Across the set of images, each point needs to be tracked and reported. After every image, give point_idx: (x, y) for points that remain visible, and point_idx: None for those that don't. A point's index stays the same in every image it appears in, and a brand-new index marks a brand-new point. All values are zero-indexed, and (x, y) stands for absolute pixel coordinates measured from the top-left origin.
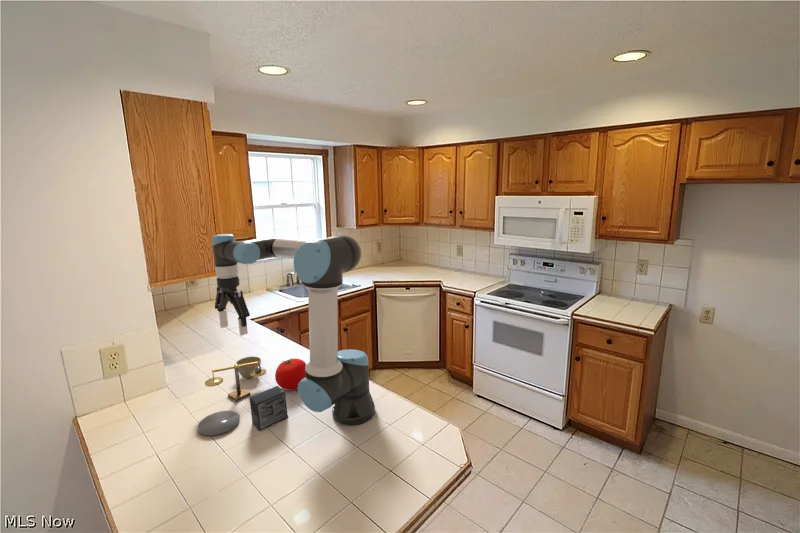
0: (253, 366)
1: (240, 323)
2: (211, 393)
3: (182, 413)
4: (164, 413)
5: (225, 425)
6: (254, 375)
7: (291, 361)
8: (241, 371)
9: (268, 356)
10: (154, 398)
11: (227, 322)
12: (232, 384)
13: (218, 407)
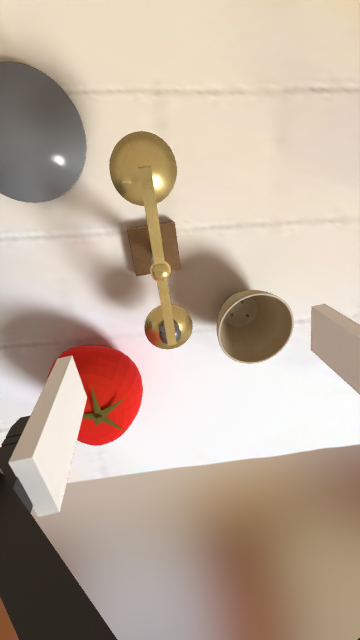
0: (217, 330)
1: (32, 427)
2: (231, 190)
3: (176, 67)
4: (221, 14)
5: None
6: (155, 311)
7: (96, 422)
8: (236, 295)
9: (308, 385)
10: (349, 20)
11: (326, 361)
12: (235, 257)
13: None
